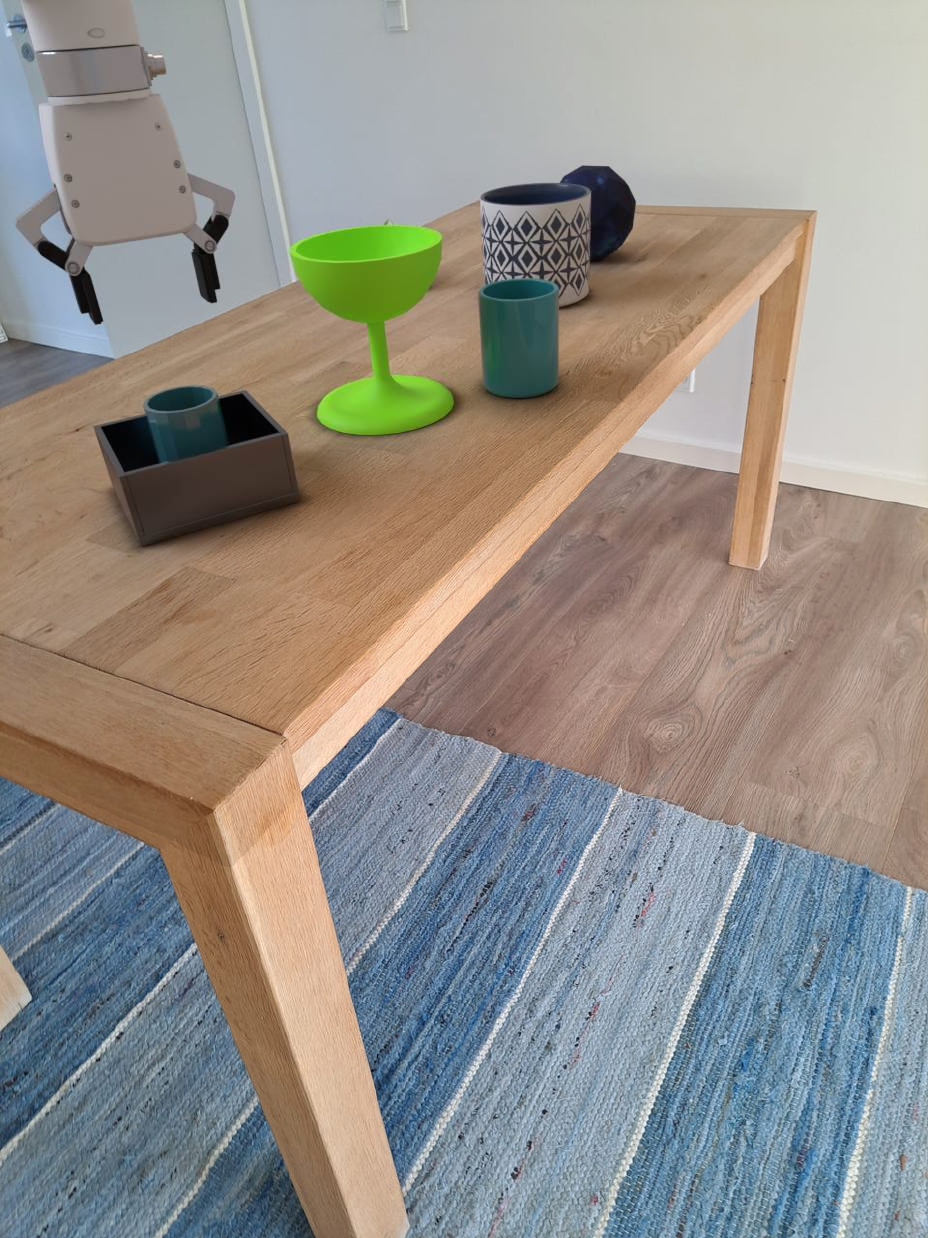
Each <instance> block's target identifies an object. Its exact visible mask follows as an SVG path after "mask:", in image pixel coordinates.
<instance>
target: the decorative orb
mask: <svg viewBox="0 0 928 1238" xmlns="http://www.w3.org/2000/svg"><path fill="white" fill-rule="evenodd" d="M559 183H568V184H576V185H581V186H584V187H587V188H588V189H590V191H591V220H590V261H593V262H594V261H595V262H600V261H602V260H604V259H606V258H607V257H609V256H610V255H612V254H614V253H615V252H616V251H618V250H619V249H620V248H621V247H622V246H623V245H624V243H625V242H626V240H627V239H628V237H629V235H630V234H631V232H632V230H633V228H634V222H635V214H636V207H637V206H636V205H637V200H636V198H635V196H634V194H633V192H632V189H631V187H630V186H629V184H628V183H627V182H626V180H625V179H624V178H623V177H621V176H620V174H618V173H617V172H616V171H615V170H614V169H612V167H610V166H609V165H583V164H582V165H581V166H579V167H577V168H575V169H574V170H572V171H570V172H568V173H567V174H565V175H563V176H562V178H561V180H560V181H559Z"/></svg>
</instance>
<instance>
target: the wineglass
mask: <svg viewBox="0 0 928 1238" xmlns="http://www.w3.org/2000/svg"><path fill="white" fill-rule="evenodd" d="M442 253H443V236H442V233H441V232H440V231H438V230H436V229H433V228H428V227H424V226H418V225H408V224H392V225H384V224H377V225H376V224H375V225H374V224H373V225H364V226H354V227H346V228H339V229H335V230H330V231H325V232H321V233H318V234H314V235H311V236H308V237H305V238H303V239H301V240H298V241H296V242H295V243H294V244H292V245H291V246H290V247H289V255H290V260H291V263H292V266H293V269H294V272H295V275H296V276H297V277H298V279H299V281H300V282H301V284H302V286H303V288H304V290H305V291H306V292H307V293H308V295H310V296H311V298H312V299H314V301H316V302H317V303H318V304H319V305H320V306H321V307H322V309H324V310H326V311H327V312H329V313H330V314H333V315H335V316H336V317H338V318H341V319H342V320H347V321H350V322H356V323H360V324H361V323H362V324H366V326H367V334H368V342H369V351H370V358H371V365H372V366H371V367H372V374H373V376H370V377H366V378H361V379H357V380H354V381H351V382H348V383H345V384H343V385H340V386H339V387H336V388H334V389H333V390H332V391H330V392H329V393H327V394H325V396H324V397H323V398H322V399H321V401H320V402H319V404H318V406H317V410H316V411H317V413H316V415H317V416H316V417H317V419H318V421H319V422H320V424H322V425H323V426H325V427H327V428H328V429H330V430H332V431H336V432H340V433H344V434H351V435H356V436H357V435H358V436H383V435H384V436H385V435H391V434H392V435H393V434H400V433H405V432H410V431H413V430H417V429H420V428H424V427H426V426H429V425H432V424H434V423H435V422H437V421H439V420H441V419H443V418H445V416H447V415H448V414H449V413H450V412H451V411H452V409H453V408H454V405H455V400H454V396H453V394H452V392H451V391H450V390H449V389H448V388H447V387H446V386H445V385H444V384H442V383H440V382H439V381H436V380H435V379H432V378H427V377H424V376H419V375H409V374H391V370H390V369H391V368H390V361H389V352H388V343H387V334H386V326H385V322H387V321H390V320H392V319H394V318H397V317H399V316H402V315H404V314H406V313H407V312H409V311H410V310H411V309H412V308H414V307H415V306H416V305H417V304H418V303H420V301H422V300H423V298H424V297H425V295H426V294H427V292H428V290H429V289H430V287H431V286H432V284H433V283H434V281H435V280H436V278H437V274H438V271H439V268H440V264H441V261H442Z"/></svg>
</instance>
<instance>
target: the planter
mask: <svg viewBox="0 0 928 1238" xmlns="http://www.w3.org/2000/svg"><path fill="white" fill-rule="evenodd" d="M479 204H480V227H481V229H480V230H481V251H482V252H481V253H482V270H483V273H482V274H483V286H485V285H487V284H489V283H492V282H496V281H500V280H506V279H516V278H534V279H543V280H547V281H551V282H553V283H555V284H556V285H557V286H558V287H559V308H563V307H567V306H570V305H573V304H575V303H578V302H579V301H581V300H582V299H584V298H585V297H587V295H588V294H589V292H590V267H591V265H590V263H591V260H590V220H591V191H590V189H588V188H587V187H584V186H581V185H576V184H568V183H560V182H533V183H521V184H520V183H519V184H513V185H506V186H502V187H497V188H493V189H490V190H488V191H485V192H483V193H482V194H481V195H480V196H479ZM568 300H569V301H568Z"/></svg>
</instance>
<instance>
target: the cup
mask: <svg viewBox="0 0 928 1238" xmlns="http://www.w3.org/2000/svg"><path fill="white" fill-rule="evenodd" d="M477 294H478V295H477V297H478V315H479V317H478V318H479V336H480V337H479V338H480V354H481V355H480V356H481V373H482V374H481V376H482V377H481V378H482V383H483V384H482V385H483V387H484V388H485V390H486V391H487V392H489V393H491V394H492V395H495V396H499V397H503V398H509V399H525V398H526V399H527V398H533V397H537V396H542V395H544V394H547V393H549V392H550V391H552V390H554V389H555V387H557V385H558V383H559V380H560V379H559V378H560V307H559V287H558V286H557V285H556V284H555V283H553V282H551V281H547V280H543V279H534V278H516V279H506V280H500V281H496V282H492V283H489V284H487V285H485V286H484V285H483V286H481V287H480V289H479V290H478V291H477Z"/></svg>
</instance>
